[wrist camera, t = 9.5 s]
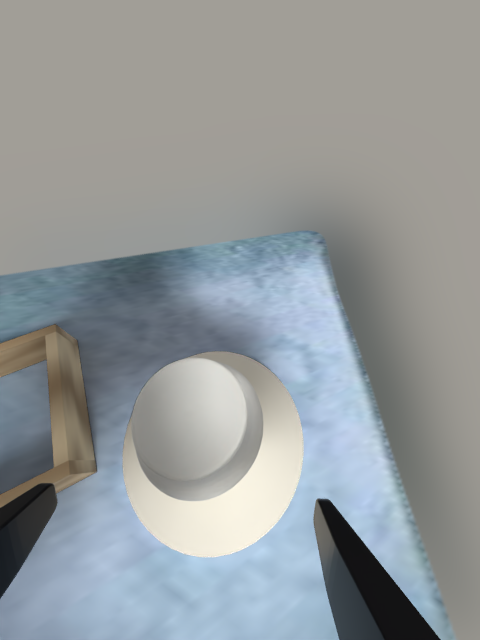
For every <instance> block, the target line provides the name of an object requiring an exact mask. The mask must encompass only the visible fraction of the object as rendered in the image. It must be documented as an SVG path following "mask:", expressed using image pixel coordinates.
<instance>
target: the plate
mask: <svg viewBox="0 0 480 640" xmlns="http://www.w3.org/2000/svg"><path fill="white" fill-rule="evenodd" d="M194 357H197V358H206V359H210V360H213V361H217V362H221V363H224V364H226V365H229V366H231V367H233V368H234V369H236V370H237V371H239V372H240V373H241V374H242V375H243V376H244V377H245V378H246V379H247V380H248V381H249V382H250V384H251V385H252V386H253V388H254V390H255V392H256V394H257V396H258V398H259V401H260V404H261V408H262V413H263V437H262V442H261V446H260V449H259V452H258V455H257V457H256V459H255V461H254V463H253V465H252V466H251V468H250V469H249V471H248V472H247V474H246V475H245V476H244V477H243V478H242V479H241V480H240V481H239V482H238V483H237V484H236V485H235V486H234V487H233V488H231V489H230V490H228V491H227V492H225V493H223V494H221V495H219V496H217V497H214V498H211V499H208V500H204V501H183V500H178V499H175V498H172V497H170V496H168V495H166V494H164V493H163V492H161V491H160V490H159V489H157V488H156V487H155V486H154V485H153V484H152V483H151V482H150V481H149V479H148V478H147V477H146V475H145V474H144V472H143V470H142V468H141V466H140V463H139V461H138V458H137V455H136V449H135V446H134V443H133V439H132V432H131V419H132V416H131V418H130V421H129V424H128V427H127V431H126V435H125V439H124V447H123V474H124V482H125V486H126V490H127V494H128V497H129V499H130V502H131V504H132V507H133V509H134V511H135V512H136V514H137V516H138V518H139V519H140V521H141V522H142V523H143V525H144V526H145V527H146V528H147V530H148V531H149V532H150V533H151V534H152V535H153V536H155V537H156V538H157V539H158V540H159V541H160V542H162V543H163V544H165V545H167V546H168V547H170V548H171V549H173V550H176V551H179V552H181V553H184V554H187V555H192V556H197V557H218V556H223V555H229V554H232V553H234V552H237V551H240V550H243V549H244V548H246V547H248V546H250V545H251V544H253V543H255V542H256V541H258V540H259V539H260V538H261V537H263V536H264V535H265V534H266V533H268V532H269V531H270V530H271V528H272V527H273V526H274V525H275V524H276V523H277V522H278V521H279V519H280V518H281V516H282V515H283V514H284V512H285V511H286V509H287V507H288V505H289V504H290V502H291V500H292V498H293V496H294V493H295V490H296V488H297V485H298V482H299V478H300V474H301V469H302V462H303V434H302V427H301V422H300V418H299V415H298V412H297V409H296V406H295V404H294V402H293V400H292V398H291V396H290V394H289V392H288V391H287V389H286V388H285V386H284V385H283V384H282V382H281V381H280V380H279V379H278V378H277V377H276V376H275V375H274V374H273V373H272V372H271V371H270V370H269V369H268V368H266V367H265V366H263V365H262V364H261V363H259V362H257V361H255V360H253V359H252V358H249V357H246V356H244V355H241V354H237V353H232V352H225V351H213V352H204V353H200V354H196V355H193V356H190V357H187V358H194Z"/></svg>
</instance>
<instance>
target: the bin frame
mask: <svg viewBox="0 0 480 640" xmlns="http://www.w3.org/2000/svg"><path fill="white" fill-rule="evenodd" d="M46 359H47V371H48V386H49V401H50V416H51V431H52V447H53V462H54V468H52V469H50V470H48V471H46V472H44V473H42V474H40V475H38V476H36V477H34V478H32V479H30V480H28V481H26V482H24V483H22V484H20V485H18V486H16V487H14V488H12V489H10V490H8V491H6V492H4V493H2V494H0V508H1V507H2V506H4V505H5V504H7V503H9V502H10V501H12V500H13V499H15V498H17V497H18V496H20V495H21V494H23V493H25V492H26V491H28V490H29V489H31V488H33V487H34V486H36V485H38V484H40V483H53V484H54V485H55V490H56V493H58V492H60V491H62V490H64V489H66V488H68V487H69V486H71V485H73V484H75V483H77V482H79V481H81V480H83V479H85V478H86V477H88V476H90V475H92V474H94V473H96V472H97V470H96V463H95V456H94V449H93V443H92V436H91V429H90V423H89V416H88V409H87V402H86V396H85V389H84V382H83V376H82V369H81V362H80V355H79V349H78V342H77V340H76V339H75V338H73V337H72V336H71V335H69V334H68V333H67V332H65V331H64V330H63V329H61V328H60V327H59V326H57V325H56V324H54V325H51V326H49V327H46V328H43V329H40V330H37V331H34V332H32V333H29V334H26V335H23V336H20V337H17V338H15V339H12V340H9V341H6V342H3V343H0V377H2V376H5V375H8V374H10V373H13V372H15V371H18V370H21V369H23V368H26V367H28V366H31V365H33V364H36V363H39V362H41V361H44V360H46Z"/></svg>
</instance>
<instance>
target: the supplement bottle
mask: <svg viewBox="0 0 480 640" xmlns="http://www.w3.org/2000/svg"><path fill="white" fill-rule="evenodd" d="M131 432H132V439H133V443H134V446H135V449H136V455H137V458H138V461H139V463H140V466H141V468H142V470H143V472H144V474H145V475H146V477H147V478H148V479H149V481H150V482H151V483H152V484H153V485H154V486H155V487H156V488H157V489H159V490H160V491H161V492H163V493H164V494H166V495H168V496H170V497H172V498H175V499H178V500H183V501H204V500H208V499H211V498H214V497H217V496H219V495H221V494H223V493H225V492H227V491H228V490H230V489H231V488H233V487H234V486H235V485H236V484H237V483H238V482H239V481H240V480H241V479H242V478H243V477H244V476H245V475H246V474H247V472H248V471H249V469H250V468H251V466H252V465H253V463H254V461H255V459H256V457H257V455H258V452H259V449H260V446H261V442H262V437H263V413H262V408H261V404H260V401H259V398H258V396H257V394H256V392H255V390H254V388H253V386H252V385H251V384H250V382H249V381H248V380H247V379H246V378H245V377H244V376H243V375H242V374H241V373H240V372H239V371H237V370H236V369H234V368H233V367H231V366H229V365H226V364H224V363H221V362H217V361H213V360H210V359H206V358H197V357H194V358H185V359H181V360H178V361H175V362H173V363H170V364H168V365H166V366H165V367H163V368H162V369H160V370H159V371H158V372H157V373H155V374H154V375H153V376H152V377H151V378H150V379H149V380H148V382H147V383H146V384H145V386H144V387H143V388H142V390H141V392H140V394H139V396H138V397H137V400H136V403H135V405H134V409H133V413H132V419H131Z"/></svg>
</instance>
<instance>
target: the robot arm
mask: <svg viewBox="0 0 480 640" xmlns="http://www.w3.org/2000/svg"><path fill="white" fill-rule="evenodd" d="M56 506H57V496H56V490H55V485H54V484H53V483H40V484H38V485H36V486H34V487H33V488H31V489H29V490H28V491H26V492H25V493H23V494H21V495H20V496H18V497H17V498H15V499H13V500H12V501H10V502H9V503H7V504H5V505H4V506H2V507H1V508H0V598H1V597H2V596H3V594H4V593H5V591H6V590H7V588H8V587H9V585H10V584H11V582H12V581H13V579H14V578H15V576H16V575H17V573H18V572H19V570H20V568H21V567H22V565H23V563H24V562H25V560H26V558H27V557H28V555H29V553H30V552H31V550H32V548H33V547H34V545H35V543H36V541H37V540H38V538H39V536H40V535H41V533H42V531H43V530H44V528H45V526H46V525H47V523H48V521H49V519H50V518H51V516H52V514H53V513H54V511H55V509H56ZM314 528H315V533H316V539H317V544H318V549H319V555H320V560H321V565H322V570H323V576H324V581H325V586H326V591H327V595H328V599H329V603H330V607H331V610H332V614H333V618H334V621H335V625H336V629H337V633H338V636H339V640H440V638H439V637H438V636H437V635H436V633H435V632H434V631H433V630H432V628H431V627H430V626H429V624H428V623H427V622H426V621H425V619H424V618H423V617H422V616H421V614H420V613H419V612H418V611H417V609H416V608H415V607H414V606H413V604H412V603H411V602H410V601H409V599H408V598H407V597H406V596H405V594H404V593H403V592H402V590H401V589H400V588H399V587H398V585H397V584H396V583H395V582H394V580H393V579H392V578H391V577H390V575H389V574H388V573H387V572H386V570H385V569H384V568H383V567H382V565H381V564H380V563H379V561H378V560H377V559H376V558H375V556H374V555H373V554H372V553H371V551H370V550H369V549H368V548H367V546H366V545H365V544H364V543H363V541H362V540H361V539H360V538H359V536H358V535H357V534H356V533H355V531H354V530H353V529H352V527H351V526H350V525H349V524H348V522H347V521H346V520H345V519H344V517H343V516H342V515H341V514H340V512H339V511H338V510H337V509H336V507H335V506H334V505H333V504H332V502H331V501H330V500H328V499H317V500H316V504H315V511H314Z"/></svg>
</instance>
